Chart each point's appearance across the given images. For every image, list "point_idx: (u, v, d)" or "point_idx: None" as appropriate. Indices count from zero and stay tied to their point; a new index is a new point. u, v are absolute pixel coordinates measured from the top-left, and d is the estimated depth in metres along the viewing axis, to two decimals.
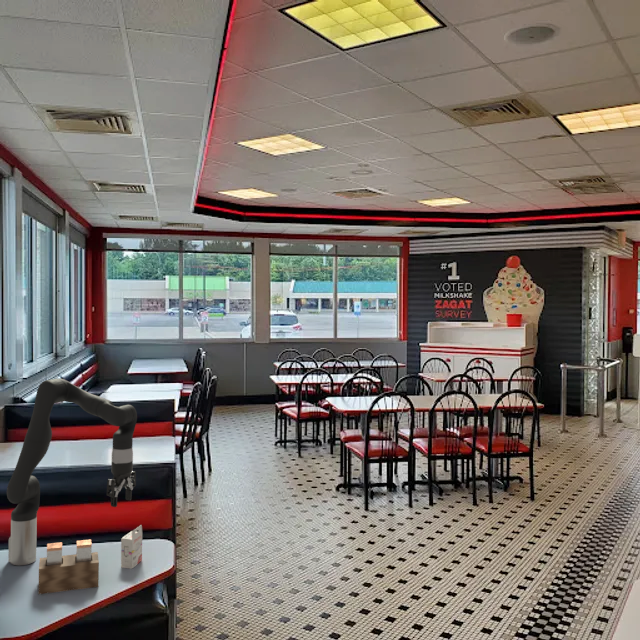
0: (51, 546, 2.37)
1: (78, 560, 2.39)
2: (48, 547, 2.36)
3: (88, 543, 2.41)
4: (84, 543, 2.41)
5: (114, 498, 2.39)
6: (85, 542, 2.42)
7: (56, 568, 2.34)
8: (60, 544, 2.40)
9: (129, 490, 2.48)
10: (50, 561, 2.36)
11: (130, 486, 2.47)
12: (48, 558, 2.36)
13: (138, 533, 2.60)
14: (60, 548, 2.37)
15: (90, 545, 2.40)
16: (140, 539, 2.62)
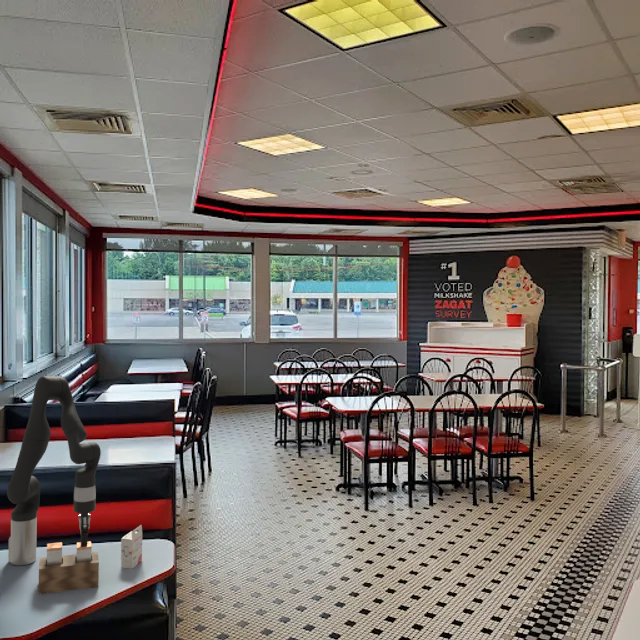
0: (51, 546, 2.37)
1: None
2: (48, 547, 2.36)
3: (88, 545, 2.41)
4: (84, 545, 2.41)
5: None
6: None
7: (56, 568, 2.34)
8: (60, 544, 2.40)
9: None
10: (50, 561, 2.36)
11: (80, 529, 2.41)
12: (48, 558, 2.36)
13: (138, 533, 2.60)
14: (60, 548, 2.37)
15: (90, 547, 2.41)
16: (140, 539, 2.62)
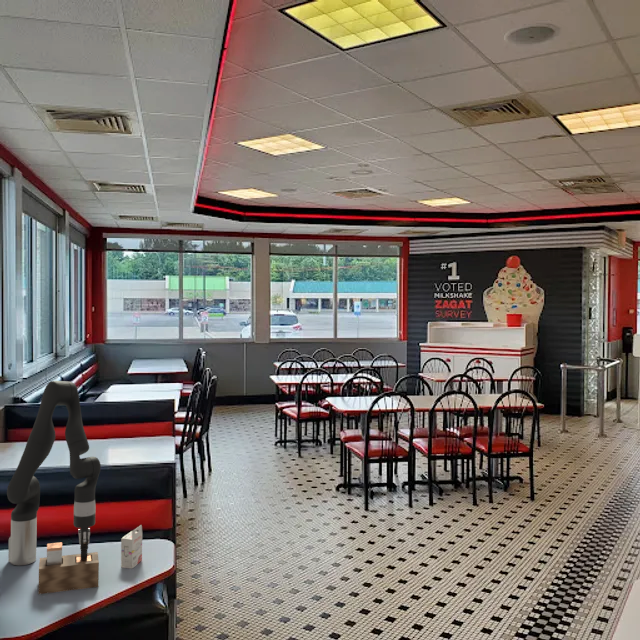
0: (51, 546, 2.37)
1: None
2: (48, 547, 2.36)
3: (88, 559, 2.42)
4: None
5: None
6: None
7: (56, 568, 2.34)
8: (60, 544, 2.40)
9: None
10: (50, 561, 2.36)
11: (80, 544, 2.41)
12: (48, 558, 2.36)
13: (138, 533, 2.60)
14: (60, 548, 2.37)
15: None
16: (140, 539, 2.62)
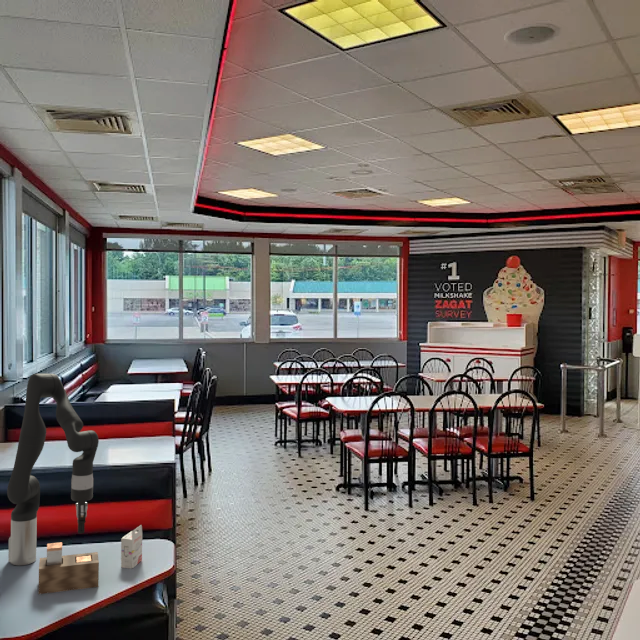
0: (51, 546, 2.37)
1: None
2: (48, 547, 2.36)
3: (88, 559, 2.42)
4: (84, 559, 2.41)
5: None
6: (85, 558, 2.43)
7: (56, 568, 2.34)
8: (60, 544, 2.40)
9: None
10: (50, 561, 2.36)
11: (78, 518, 2.40)
12: (48, 558, 2.36)
13: (138, 533, 2.60)
14: (60, 548, 2.37)
15: None
16: (140, 539, 2.62)
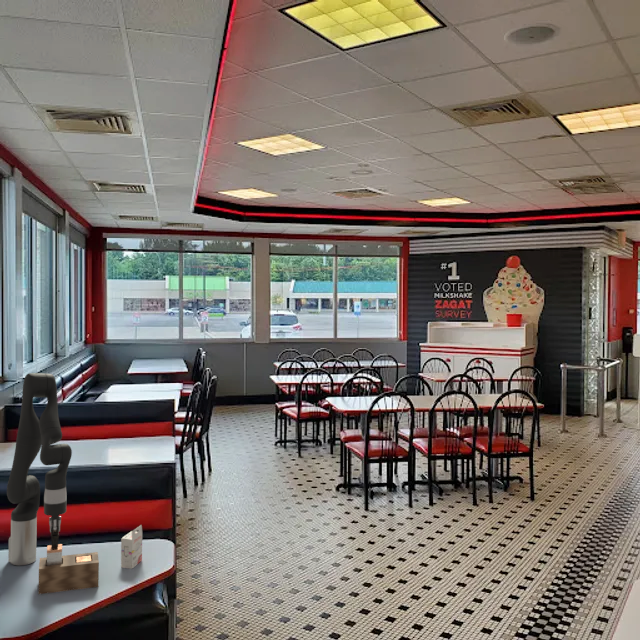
0: (51, 548, 2.37)
1: None
2: (48, 549, 2.36)
3: (88, 559, 2.42)
4: (84, 559, 2.41)
5: None
6: (85, 558, 2.43)
7: (56, 568, 2.34)
8: (60, 546, 2.40)
9: None
10: (50, 563, 2.36)
11: (51, 532, 2.37)
12: (48, 560, 2.36)
13: (138, 533, 2.60)
14: (60, 550, 2.37)
15: None
16: (140, 539, 2.62)
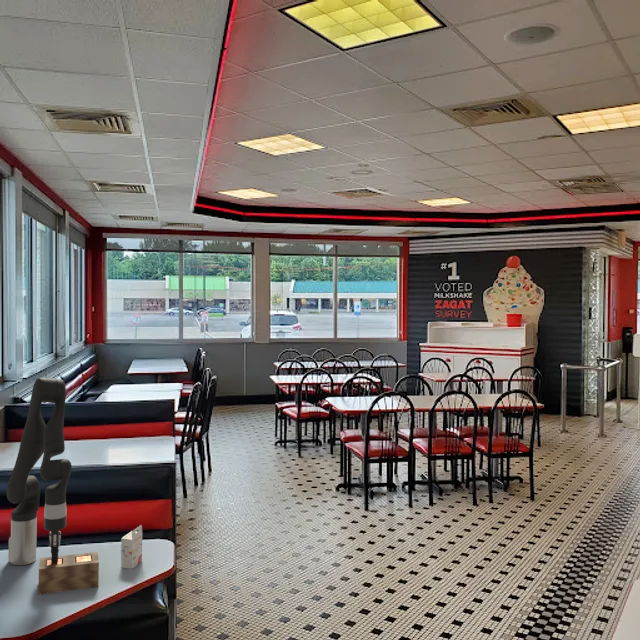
0: (51, 563, 2.38)
1: None
2: (48, 564, 2.37)
3: (88, 559, 2.42)
4: (84, 559, 2.41)
5: None
6: (85, 558, 2.43)
7: (56, 568, 2.34)
8: (60, 560, 2.40)
9: None
10: None
11: (51, 547, 2.37)
12: None
13: (138, 533, 2.60)
14: None
15: None
16: (140, 539, 2.62)
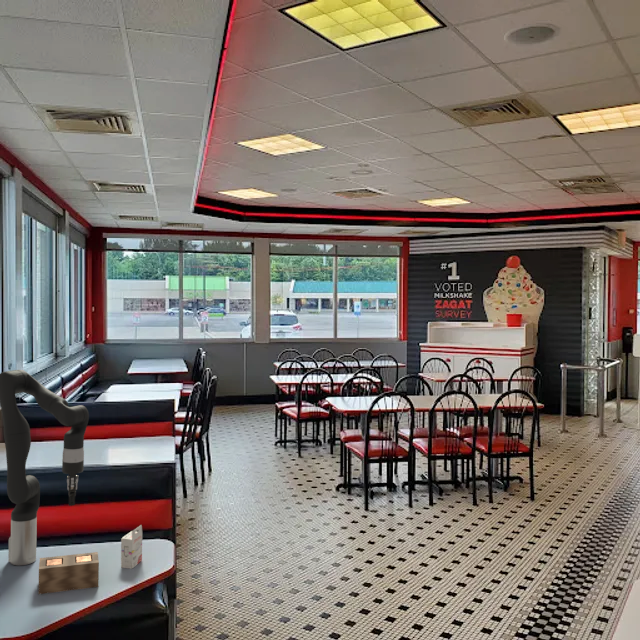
0: (51, 563, 2.38)
1: None
2: (48, 564, 2.37)
3: (88, 559, 2.42)
4: (84, 559, 2.41)
5: None
6: (85, 558, 2.43)
7: (56, 568, 2.34)
8: (60, 560, 2.40)
9: None
10: None
11: (68, 490, 2.47)
12: None
13: (138, 533, 2.60)
14: None
15: None
16: (140, 539, 2.62)
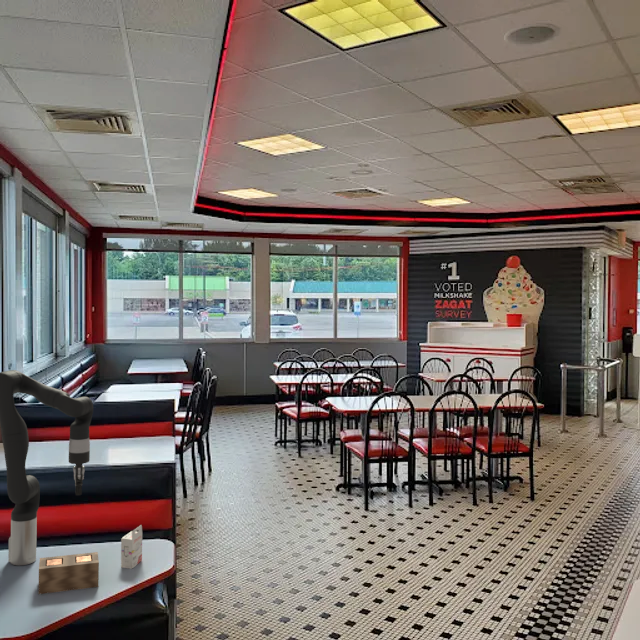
0: (51, 563, 2.38)
1: None
2: (48, 564, 2.37)
3: (88, 559, 2.42)
4: (84, 559, 2.41)
5: None
6: (85, 558, 2.43)
7: (56, 568, 2.34)
8: (60, 560, 2.40)
9: None
10: None
11: (75, 480, 2.52)
12: None
13: (138, 533, 2.60)
14: None
15: None
16: (140, 539, 2.62)
